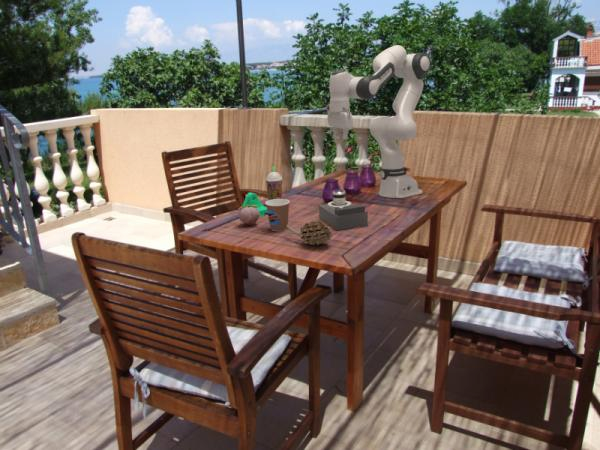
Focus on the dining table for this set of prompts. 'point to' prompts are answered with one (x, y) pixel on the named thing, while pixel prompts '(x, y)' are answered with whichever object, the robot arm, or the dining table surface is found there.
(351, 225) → the camera body
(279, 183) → the smoothie
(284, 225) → the coffee cup
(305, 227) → the pine cone
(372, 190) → the dining table surface
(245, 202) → the camera mount
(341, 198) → the lens
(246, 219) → the decorative fruit
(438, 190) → the dining table surface
